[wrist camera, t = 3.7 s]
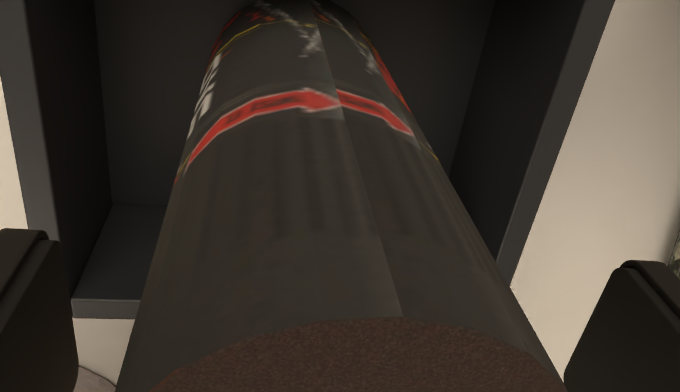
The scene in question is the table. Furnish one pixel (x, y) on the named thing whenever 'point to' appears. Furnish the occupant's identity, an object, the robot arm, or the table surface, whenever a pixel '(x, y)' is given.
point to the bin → (184, 88)
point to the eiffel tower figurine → (675, 258)
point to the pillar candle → (92, 382)
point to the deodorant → (319, 234)
